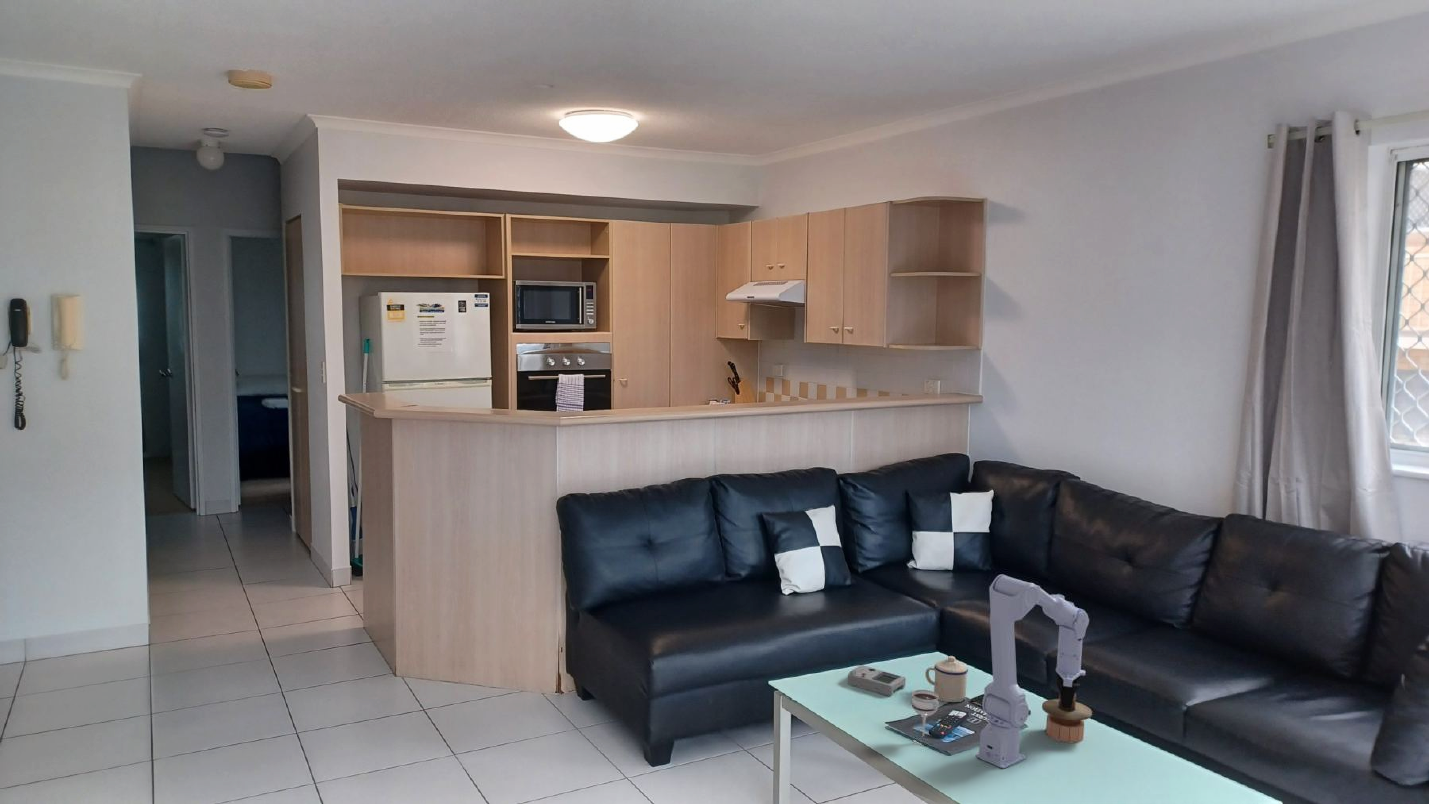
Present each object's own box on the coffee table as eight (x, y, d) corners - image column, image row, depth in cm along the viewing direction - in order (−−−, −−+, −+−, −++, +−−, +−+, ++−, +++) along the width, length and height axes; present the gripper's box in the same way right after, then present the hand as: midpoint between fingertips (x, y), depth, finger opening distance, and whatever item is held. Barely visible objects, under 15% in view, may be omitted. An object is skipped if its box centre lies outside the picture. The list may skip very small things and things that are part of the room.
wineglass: (942, 741, 240) (944, 695, 239) (927, 749, 235) (930, 702, 234) (918, 732, 245) (920, 687, 244) (904, 740, 240) (906, 694, 239)
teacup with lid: (971, 696, 269) (973, 656, 268) (958, 706, 262) (960, 665, 261) (931, 685, 276) (933, 646, 275) (918, 695, 269) (919, 655, 268)
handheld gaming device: (860, 676, 283) (861, 663, 283) (905, 689, 274) (906, 676, 274) (845, 685, 276) (845, 672, 276) (890, 698, 267) (891, 685, 267)
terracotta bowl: (1070, 745, 240) (1071, 730, 239) (1038, 732, 247) (1039, 717, 246) (1090, 736, 245) (1091, 721, 245) (1058, 724, 252) (1059, 709, 252)
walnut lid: (1075, 724, 237) (1076, 706, 237) (1032, 708, 246) (1033, 691, 246) (1101, 712, 245) (1101, 695, 244) (1058, 697, 254) (1059, 681, 253)
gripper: (1086, 664, 236) (1082, 717, 237) (1086, 645, 249) (1083, 696, 251) (1056, 659, 238) (1052, 712, 240) (1057, 641, 252) (1054, 691, 253)
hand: (1066, 704), depth 245 cm, fingers closed on walnut lid, 4 cm apart
